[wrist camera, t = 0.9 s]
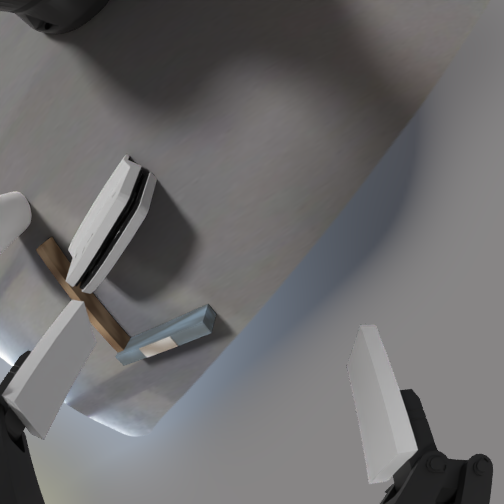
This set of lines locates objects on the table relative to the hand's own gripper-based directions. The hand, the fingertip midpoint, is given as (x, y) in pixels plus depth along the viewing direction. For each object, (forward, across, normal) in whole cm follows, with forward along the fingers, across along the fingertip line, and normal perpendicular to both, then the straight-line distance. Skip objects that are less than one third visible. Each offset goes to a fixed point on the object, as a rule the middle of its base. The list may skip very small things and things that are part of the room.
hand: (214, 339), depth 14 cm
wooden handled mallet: (+23, -17, -12) cm, 31 cm away
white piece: (+24, -17, -4) cm, 30 cm away
